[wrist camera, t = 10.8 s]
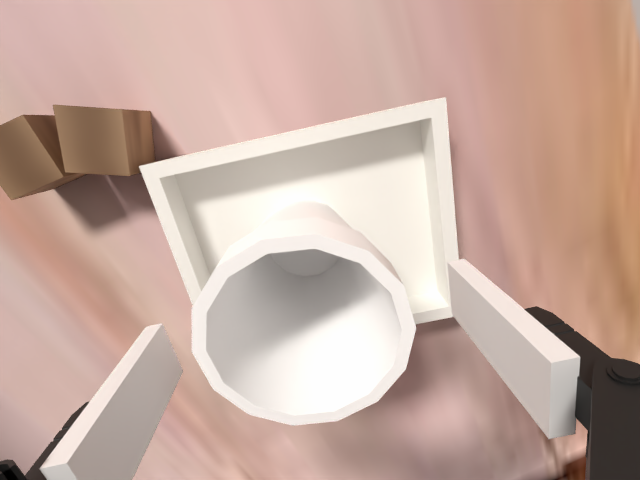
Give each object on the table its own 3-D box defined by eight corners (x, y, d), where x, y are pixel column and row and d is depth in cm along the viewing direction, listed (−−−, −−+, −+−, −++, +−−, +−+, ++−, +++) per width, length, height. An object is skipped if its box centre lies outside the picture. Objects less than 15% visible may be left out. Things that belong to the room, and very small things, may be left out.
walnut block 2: (101, 164, 25) (65, 172, 21) (93, 107, 24) (52, 104, 20) (156, 168, 25) (129, 175, 22) (150, 111, 24) (121, 109, 20)
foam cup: (379, 272, 28) (434, 393, 15) (273, 306, 28) (245, 446, 16) (344, 160, 25) (379, 199, 12) (226, 201, 25) (149, 277, 13)
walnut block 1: (54, 188, 26) (11, 200, 22) (20, 137, 24) (-33, 140, 21) (100, 168, 25) (63, 176, 22) (67, 115, 24) (22, 114, 20)
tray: (225, 337, 30) (215, 363, 27) (161, 160, 25) (138, 166, 22) (445, 293, 30) (463, 314, 26) (427, 100, 24) (445, 97, 21)
